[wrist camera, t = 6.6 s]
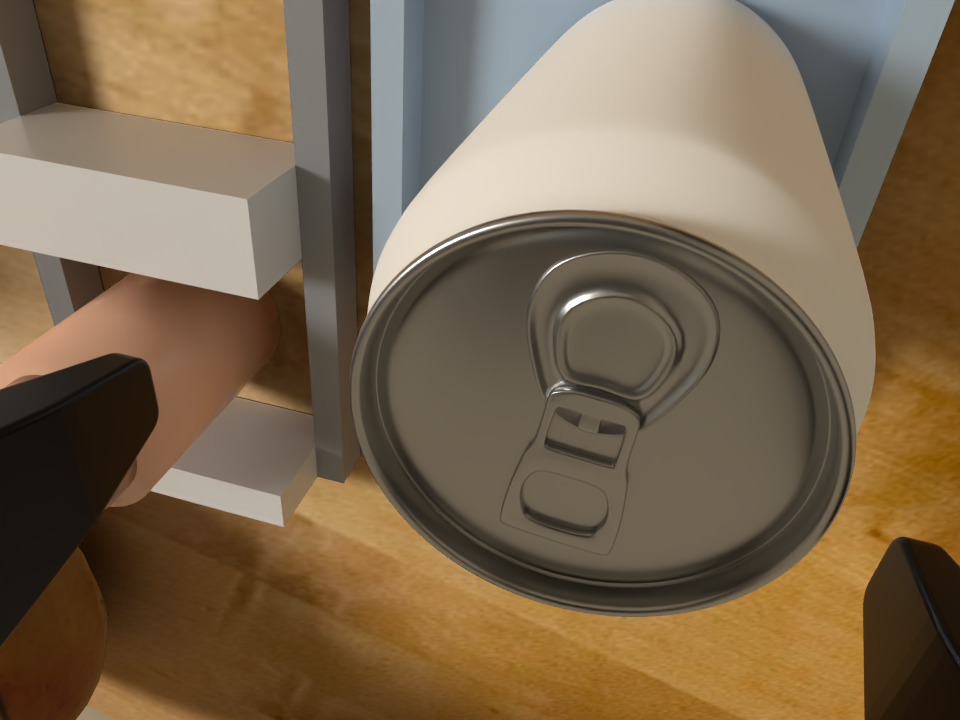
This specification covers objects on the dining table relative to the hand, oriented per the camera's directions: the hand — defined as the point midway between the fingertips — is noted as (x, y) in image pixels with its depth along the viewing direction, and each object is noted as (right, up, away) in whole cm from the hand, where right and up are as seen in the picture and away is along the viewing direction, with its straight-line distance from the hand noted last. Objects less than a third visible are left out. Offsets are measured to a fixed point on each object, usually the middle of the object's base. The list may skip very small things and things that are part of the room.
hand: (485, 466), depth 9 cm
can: (+4, +7, +9) cm, 12 cm away
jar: (-9, +3, +17) cm, 19 cm away
